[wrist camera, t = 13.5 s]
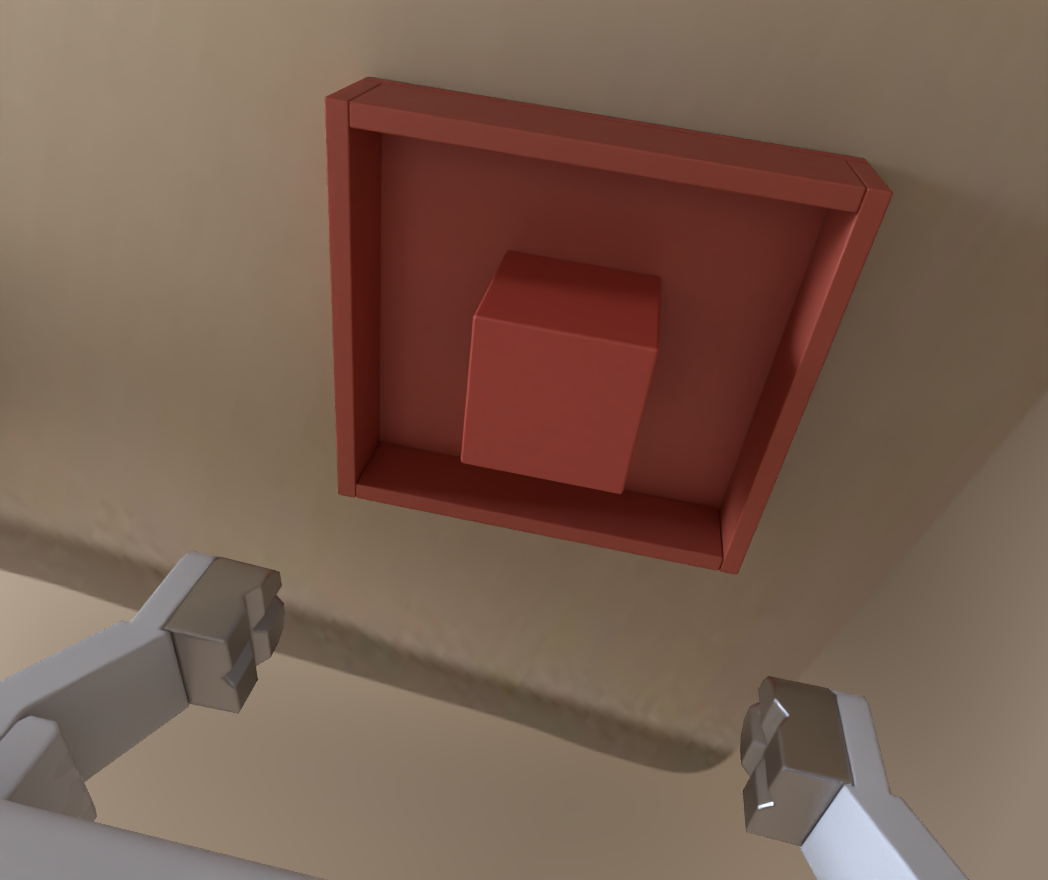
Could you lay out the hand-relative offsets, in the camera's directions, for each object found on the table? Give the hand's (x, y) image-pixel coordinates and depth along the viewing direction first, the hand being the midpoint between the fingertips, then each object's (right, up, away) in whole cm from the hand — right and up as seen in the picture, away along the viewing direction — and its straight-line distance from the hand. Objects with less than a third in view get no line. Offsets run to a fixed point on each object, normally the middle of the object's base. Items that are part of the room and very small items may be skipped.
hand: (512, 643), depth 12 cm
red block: (+2, +7, +10) cm, 12 cm away
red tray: (+2, +7, +11) cm, 13 cm away
